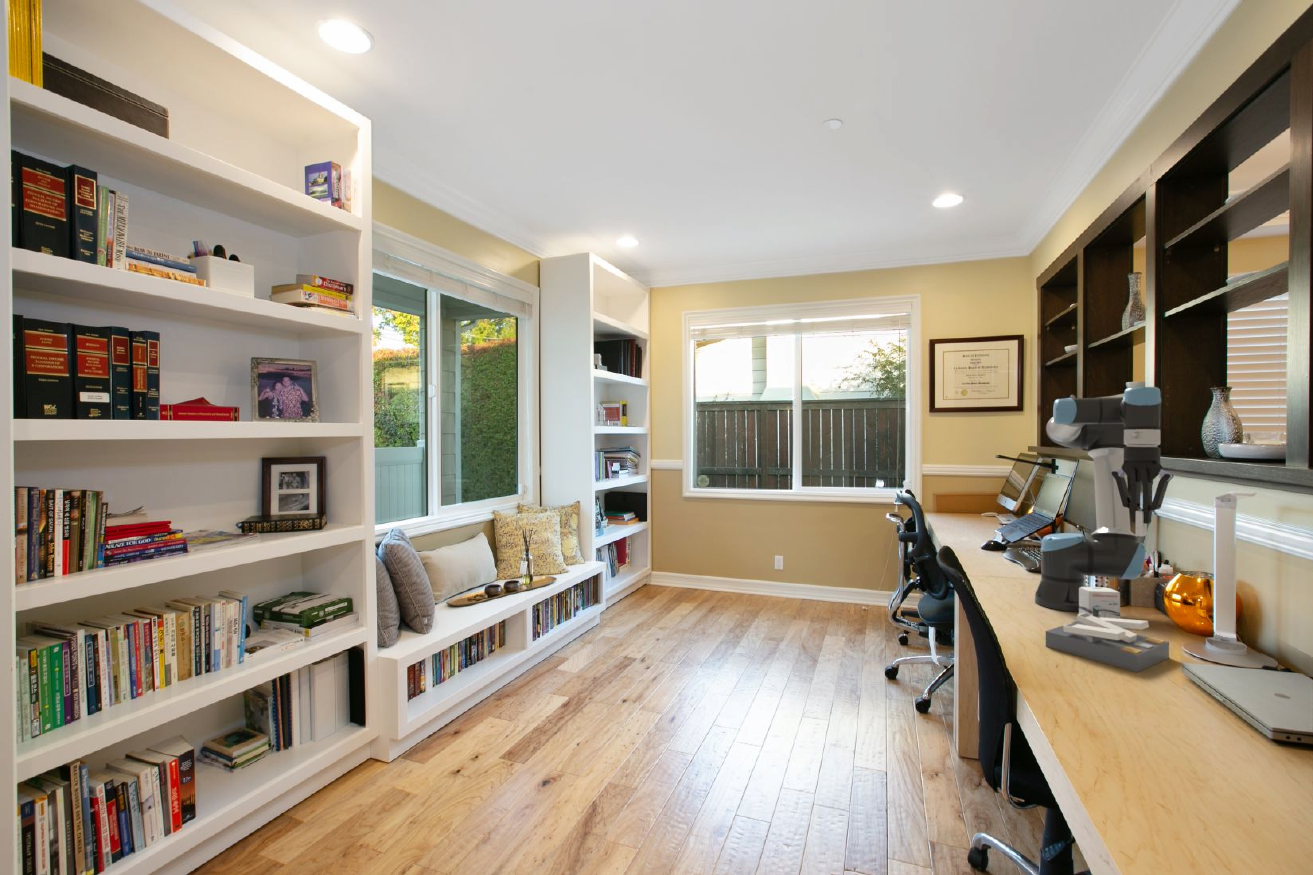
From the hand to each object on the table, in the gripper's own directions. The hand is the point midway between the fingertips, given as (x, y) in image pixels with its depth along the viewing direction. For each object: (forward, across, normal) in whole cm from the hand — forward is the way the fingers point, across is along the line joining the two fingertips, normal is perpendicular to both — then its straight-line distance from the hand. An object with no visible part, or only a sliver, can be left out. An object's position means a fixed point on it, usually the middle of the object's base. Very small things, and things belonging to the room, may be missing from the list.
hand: (1141, 535), depth 156 cm
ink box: (+30, -12, +6) cm, 33 cm away
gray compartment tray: (+29, -3, -12) cm, 32 cm away
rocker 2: (+23, -3, -12) cm, 26 cm away
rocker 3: (+23, -3, -6) cm, 24 cm away
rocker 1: (+23, -3, -18) cm, 30 cm away
